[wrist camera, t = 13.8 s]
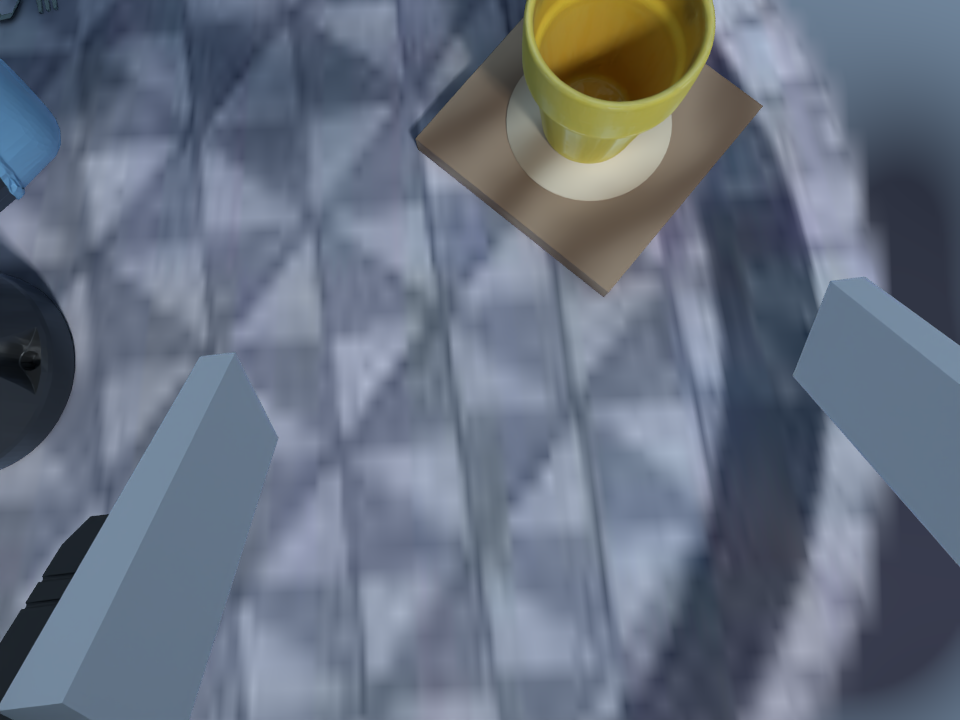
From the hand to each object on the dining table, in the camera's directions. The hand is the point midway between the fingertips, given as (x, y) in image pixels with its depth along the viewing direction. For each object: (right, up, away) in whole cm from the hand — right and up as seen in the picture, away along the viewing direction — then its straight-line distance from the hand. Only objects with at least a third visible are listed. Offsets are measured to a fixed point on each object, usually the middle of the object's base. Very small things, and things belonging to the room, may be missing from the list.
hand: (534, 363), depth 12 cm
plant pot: (+6, +17, +25) cm, 31 cm away
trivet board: (+7, +17, +27) cm, 32 cm away
